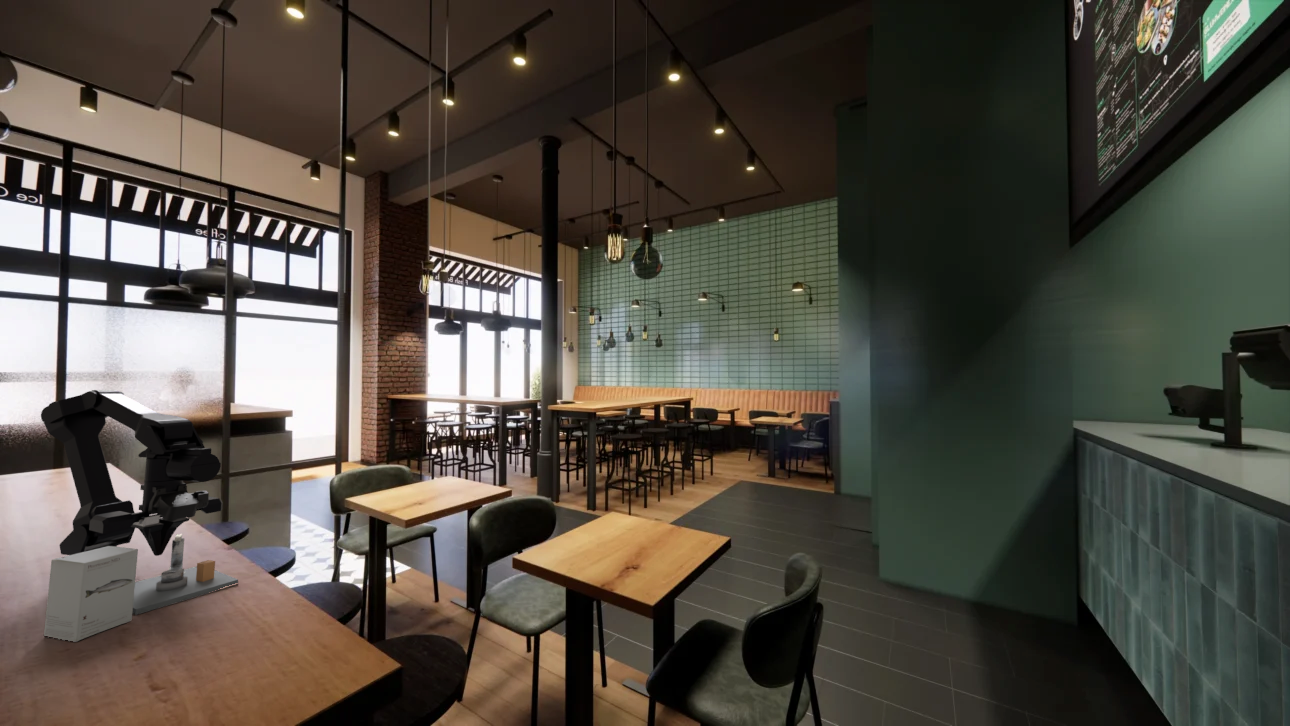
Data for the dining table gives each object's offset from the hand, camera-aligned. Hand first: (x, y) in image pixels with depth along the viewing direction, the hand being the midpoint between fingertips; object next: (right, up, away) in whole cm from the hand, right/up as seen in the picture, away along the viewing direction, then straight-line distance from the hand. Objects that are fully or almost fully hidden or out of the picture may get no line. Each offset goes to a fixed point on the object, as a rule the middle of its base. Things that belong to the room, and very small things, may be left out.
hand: (158, 555), depth 96 cm
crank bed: (+5, -6, -2) cm, 8 cm away
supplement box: (+7, -6, -18) cm, 20 cm away
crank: (+4, -4, -1) cm, 6 cm away
